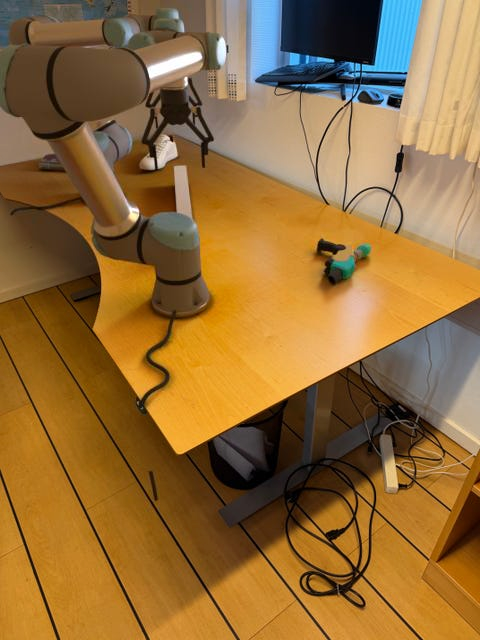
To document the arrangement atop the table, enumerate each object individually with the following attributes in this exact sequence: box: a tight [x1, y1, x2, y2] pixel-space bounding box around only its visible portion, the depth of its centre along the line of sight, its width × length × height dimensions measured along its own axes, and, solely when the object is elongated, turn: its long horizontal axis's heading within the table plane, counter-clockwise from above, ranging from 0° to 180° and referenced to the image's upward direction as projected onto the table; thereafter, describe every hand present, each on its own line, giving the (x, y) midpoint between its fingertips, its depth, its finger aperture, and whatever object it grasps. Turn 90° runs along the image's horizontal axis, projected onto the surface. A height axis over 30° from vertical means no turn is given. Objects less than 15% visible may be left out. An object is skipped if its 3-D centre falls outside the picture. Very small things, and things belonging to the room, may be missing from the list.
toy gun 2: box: [316, 237, 372, 286], centre depth 138 cm, size 4×26×15 cm
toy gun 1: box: [37, 153, 66, 172], centre depth 215 cm, size 4×19×15 cm
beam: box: [173, 164, 193, 219], centre depth 169 cm, size 60×5×8 cm, turn 8°
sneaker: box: [139, 133, 179, 171], centre depth 214 cm, size 10×29×12 cm, turn 163°
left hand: (175, 127), depth 175 cm, fingers open, 13 cm apart
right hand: (180, 167), depth 138 cm, fingers open, 13 cm apart
